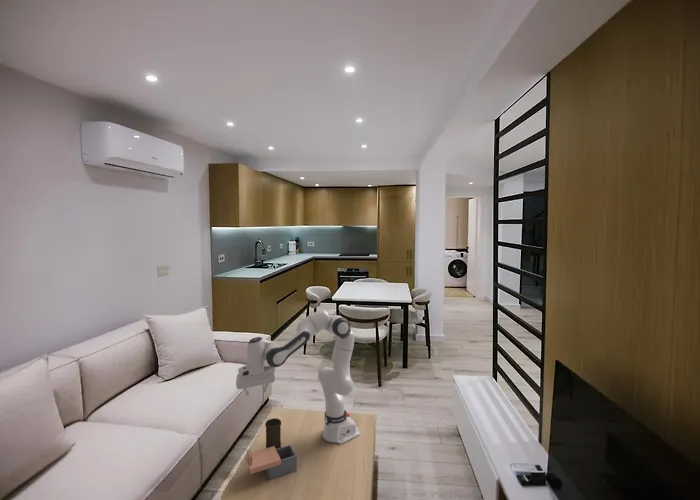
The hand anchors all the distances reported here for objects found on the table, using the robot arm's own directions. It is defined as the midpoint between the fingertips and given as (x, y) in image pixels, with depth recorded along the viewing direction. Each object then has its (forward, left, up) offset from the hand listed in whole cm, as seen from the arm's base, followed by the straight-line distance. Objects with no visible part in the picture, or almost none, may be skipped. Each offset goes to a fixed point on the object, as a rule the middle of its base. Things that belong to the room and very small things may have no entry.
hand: (255, 393), depth 191 cm
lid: (+1, +18, -27) cm, 33 cm away
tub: (-8, +18, -34) cm, 39 cm away
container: (-8, +5, -34) cm, 36 cm away
